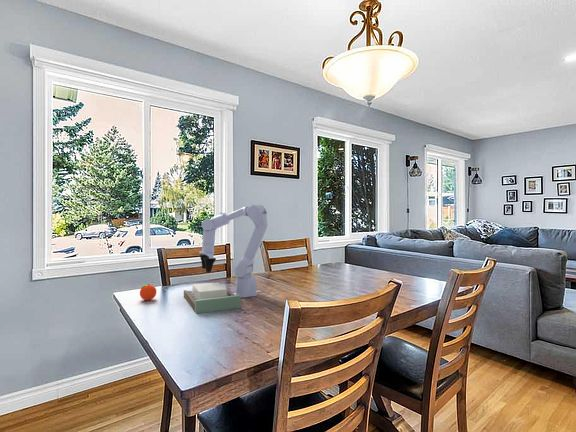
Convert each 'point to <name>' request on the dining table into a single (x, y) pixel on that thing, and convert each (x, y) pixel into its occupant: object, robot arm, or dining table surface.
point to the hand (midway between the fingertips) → (206, 270)
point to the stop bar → (217, 303)
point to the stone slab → (209, 290)
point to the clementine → (147, 292)
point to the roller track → (195, 297)
